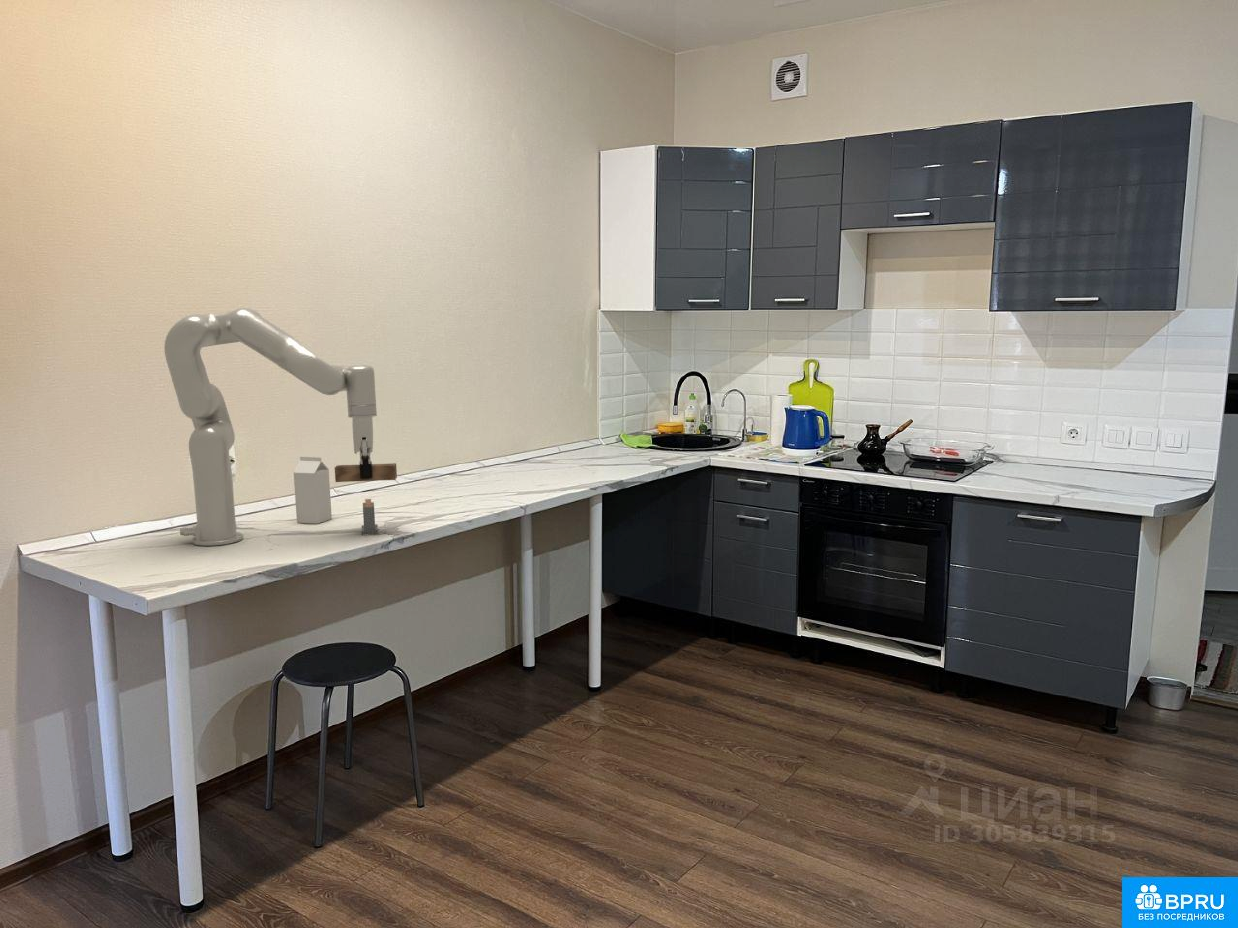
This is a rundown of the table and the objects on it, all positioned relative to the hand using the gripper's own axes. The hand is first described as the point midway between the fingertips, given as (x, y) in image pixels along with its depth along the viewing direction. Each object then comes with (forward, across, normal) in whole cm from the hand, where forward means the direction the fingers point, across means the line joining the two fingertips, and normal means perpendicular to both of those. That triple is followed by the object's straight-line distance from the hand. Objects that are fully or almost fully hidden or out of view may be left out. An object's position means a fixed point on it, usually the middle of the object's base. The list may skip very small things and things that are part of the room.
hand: (366, 476), depth 261 cm
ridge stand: (+16, 0, 0) cm, 16 cm away
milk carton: (+16, -20, -16) cm, 29 cm away
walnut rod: (+1, 0, 0) cm, 1 cm away
